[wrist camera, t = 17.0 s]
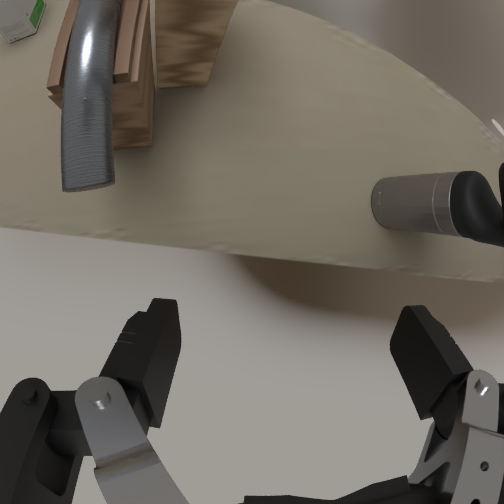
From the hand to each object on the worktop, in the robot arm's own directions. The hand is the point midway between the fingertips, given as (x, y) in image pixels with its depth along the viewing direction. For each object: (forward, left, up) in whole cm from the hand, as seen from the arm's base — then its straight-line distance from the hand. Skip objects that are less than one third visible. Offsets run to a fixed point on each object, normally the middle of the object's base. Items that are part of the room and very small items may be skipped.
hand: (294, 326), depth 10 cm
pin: (+10, -17, -11) cm, 23 cm away
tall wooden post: (+10, -18, -32) cm, 38 cm away
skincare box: (+33, -42, -32) cm, 62 cm away
